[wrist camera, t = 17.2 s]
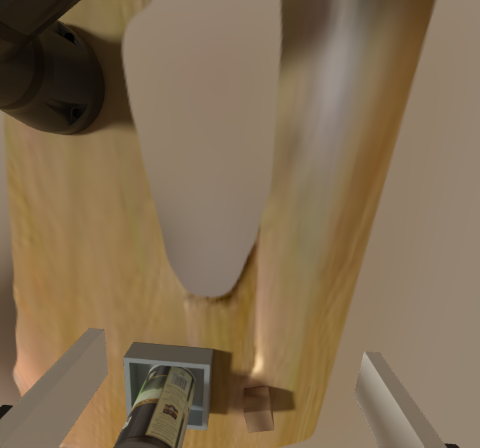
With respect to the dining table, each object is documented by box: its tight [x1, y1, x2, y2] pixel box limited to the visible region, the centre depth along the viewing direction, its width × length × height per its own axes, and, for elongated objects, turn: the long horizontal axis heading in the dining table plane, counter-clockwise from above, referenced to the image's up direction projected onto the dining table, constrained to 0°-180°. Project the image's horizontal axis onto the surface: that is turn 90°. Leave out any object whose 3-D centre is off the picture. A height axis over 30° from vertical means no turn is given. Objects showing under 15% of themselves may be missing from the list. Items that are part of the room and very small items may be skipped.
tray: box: [124, 342, 213, 430], centre depth 46 cm, size 16×16×4 cm
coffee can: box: [113, 365, 197, 448], centre depth 40 cm, size 10×10×14 cm
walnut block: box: [244, 386, 274, 433], centre depth 46 cm, size 5×5×5 cm
